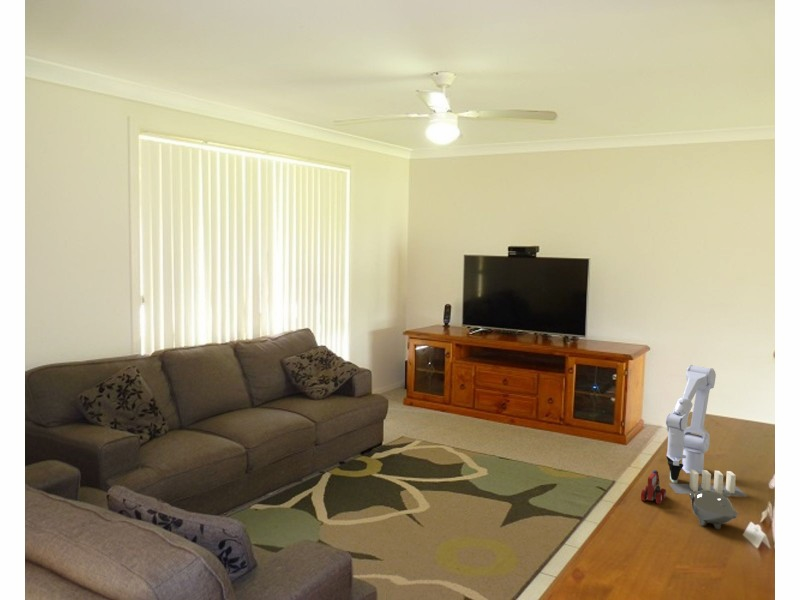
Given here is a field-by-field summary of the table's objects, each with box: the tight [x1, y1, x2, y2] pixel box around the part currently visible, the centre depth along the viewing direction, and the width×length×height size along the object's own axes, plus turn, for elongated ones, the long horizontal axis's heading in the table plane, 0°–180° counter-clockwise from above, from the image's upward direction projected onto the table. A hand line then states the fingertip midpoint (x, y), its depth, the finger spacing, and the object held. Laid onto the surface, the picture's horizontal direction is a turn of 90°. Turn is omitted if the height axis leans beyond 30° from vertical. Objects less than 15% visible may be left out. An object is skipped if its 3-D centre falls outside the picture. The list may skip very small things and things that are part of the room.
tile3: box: [701, 469, 712, 490], centre depth 249 cm, size 2×4×7 cm, turn 174°
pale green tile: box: [669, 471, 679, 484], centre depth 258 cm, size 2×4×7 cm, turn 174°
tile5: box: [725, 470, 737, 493], centre depth 248 cm, size 2×4×7 cm, turn 174°
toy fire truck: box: [640, 470, 667, 505], centre depth 240 cm, size 7×12×10 cm, turn 144°
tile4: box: [713, 470, 724, 493], centre depth 248 cm, size 2×4×7 cm, turn 174°
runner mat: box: [667, 482, 749, 498], centre depth 249 cm, size 10×26×1 cm, turn 84°
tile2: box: [689, 469, 700, 492], centre depth 249 cm, size 2×4×7 cm, turn 174°
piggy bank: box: [688, 490, 738, 530], centre depth 220 cm, size 11×15×12 cm
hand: (673, 477), depth 258 cm, fingers open, 5 cm apart
